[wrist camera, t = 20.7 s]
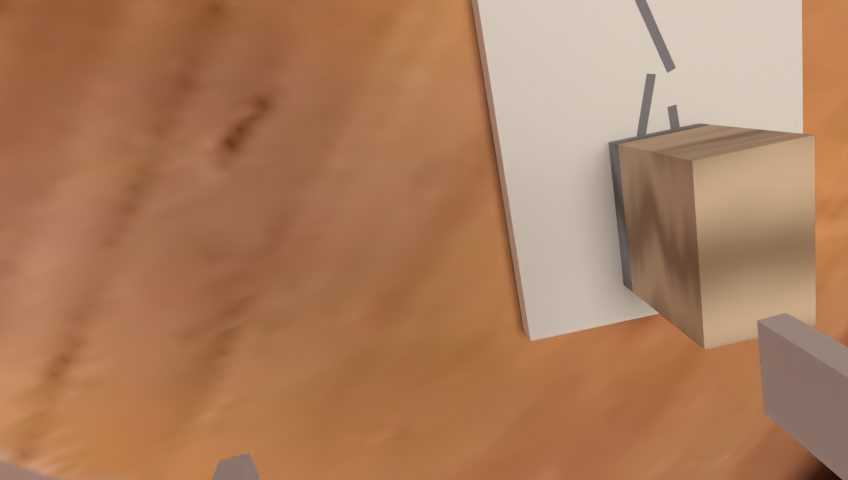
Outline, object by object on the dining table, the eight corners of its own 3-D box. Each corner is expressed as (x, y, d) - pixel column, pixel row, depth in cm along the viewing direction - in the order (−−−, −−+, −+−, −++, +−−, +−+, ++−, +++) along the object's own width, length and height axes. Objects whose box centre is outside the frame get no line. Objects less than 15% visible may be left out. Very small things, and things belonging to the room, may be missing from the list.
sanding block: (608, 142, 36) (692, 160, 26) (698, 123, 36) (814, 135, 26) (623, 284, 39) (704, 349, 29) (707, 266, 39) (815, 325, 29)
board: (451, -126, 33) (455, -140, 31) (775, -189, 33) (799, -206, 32) (523, 329, 41) (530, 341, 39) (784, 273, 41) (804, 282, 40)
